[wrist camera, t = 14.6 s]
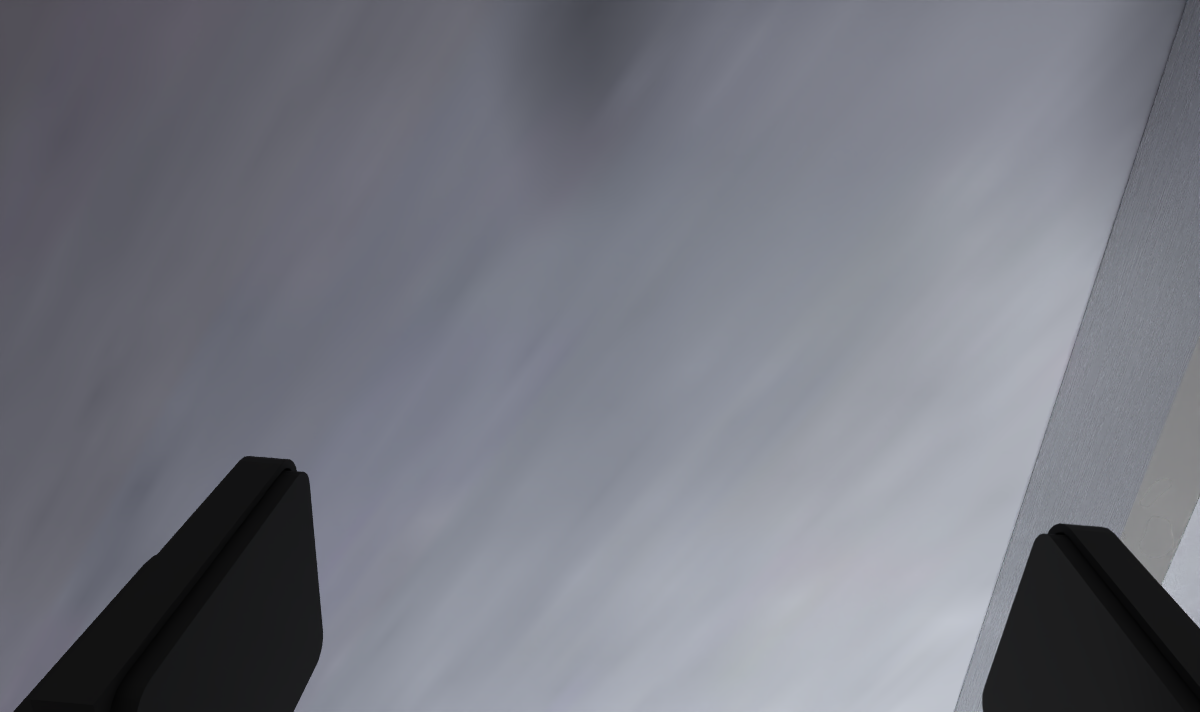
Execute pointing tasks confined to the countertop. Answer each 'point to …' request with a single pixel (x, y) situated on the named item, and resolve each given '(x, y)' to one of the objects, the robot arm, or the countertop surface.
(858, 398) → the countertop surface
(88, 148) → the countertop surface
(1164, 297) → the offcut rack
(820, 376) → the countertop surface
